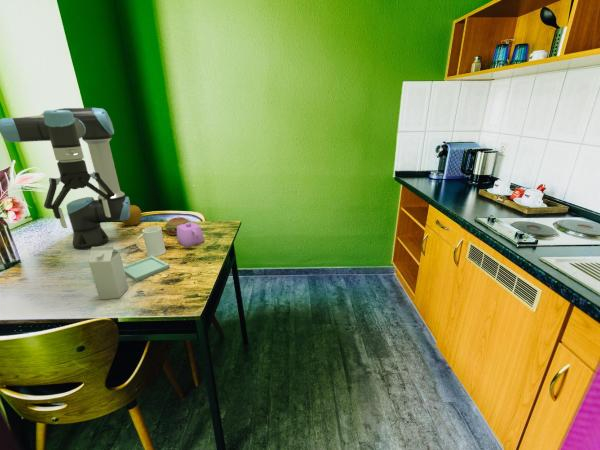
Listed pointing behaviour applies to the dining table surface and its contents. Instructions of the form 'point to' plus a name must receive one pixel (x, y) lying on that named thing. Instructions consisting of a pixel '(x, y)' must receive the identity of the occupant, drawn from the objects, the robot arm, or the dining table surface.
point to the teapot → (189, 234)
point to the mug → (153, 241)
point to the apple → (133, 216)
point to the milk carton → (108, 272)
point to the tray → (145, 268)
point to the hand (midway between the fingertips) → (87, 221)
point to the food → (175, 225)
